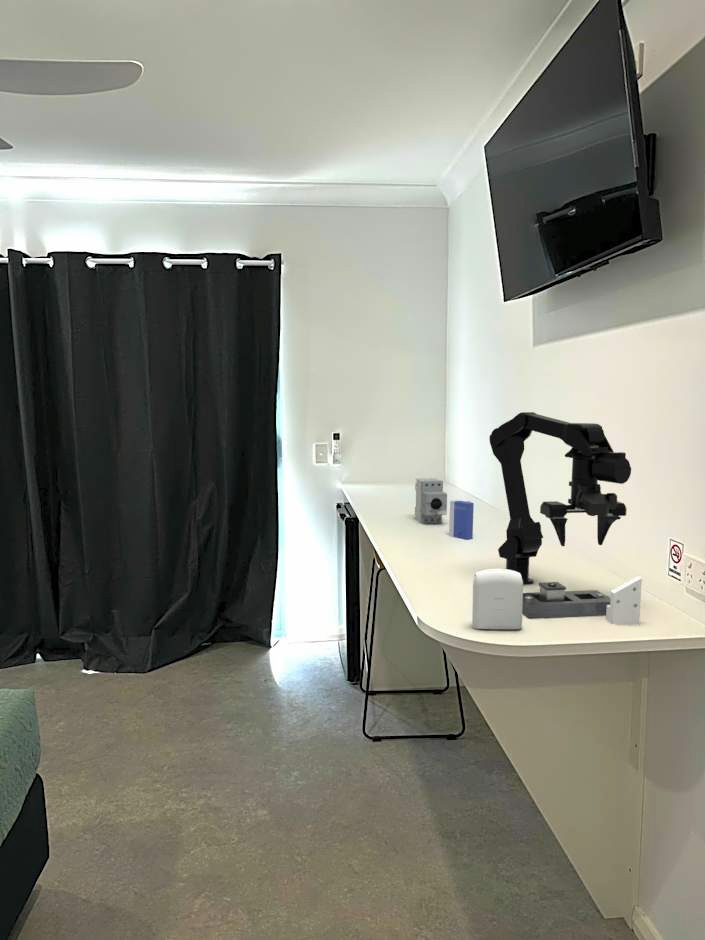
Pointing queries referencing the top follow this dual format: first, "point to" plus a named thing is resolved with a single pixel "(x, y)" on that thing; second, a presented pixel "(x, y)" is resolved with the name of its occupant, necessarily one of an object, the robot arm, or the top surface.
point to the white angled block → (625, 603)
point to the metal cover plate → (566, 605)
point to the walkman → (461, 519)
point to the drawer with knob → (551, 592)
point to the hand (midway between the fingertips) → (581, 545)
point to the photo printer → (497, 599)
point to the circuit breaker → (430, 501)
